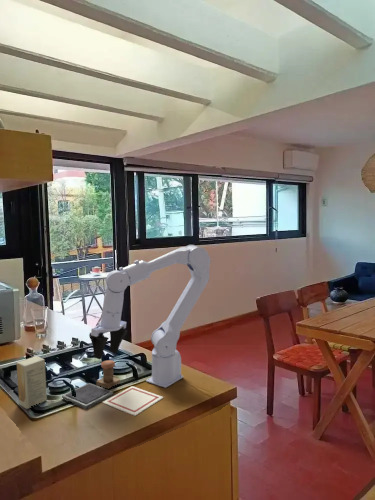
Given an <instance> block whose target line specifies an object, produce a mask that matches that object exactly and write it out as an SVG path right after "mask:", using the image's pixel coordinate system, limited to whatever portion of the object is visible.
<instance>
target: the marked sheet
mask: <svg viewBox="0 0 375 500" xmlns="http://www.w3.org/2000/svg"><path fill="white" fill-rule="evenodd" d="M162 399H164V396H162V395H158V394H156V393H153V392H150V391H147V390H145V389H142V388H139V387H136V386H130V387H128V388H126V389H124V390H123V391H120V392H119V393H117V394H115V395H112V396H110V397H109V398H107V399H105V400H103V401H102V404H103V405H106V406H109V407H112V408H114V409H117V410H119V411H121V412H123V413H126V414H129V415H130V416H131V415H132V416H134V417H136V416H137V415H139V414H140V413H142V412H144V411H145V410H147V409H148V408H150V407H151V406H153V405H154V404H156V403H158V402H159V401H161V400H162Z"/></svg>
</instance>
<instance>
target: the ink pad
mask: <svg viewBox="0 0 375 500" xmlns="http://www.w3.org/2000/svg"><path fill="white" fill-rule="evenodd" d="M74 390H76V397H74V396H72V394H71V391H69V392H67V393H65V394H63V395H62V396H61V399H62V398H63V399H66V400H69V401H71V402H72V403H74V404H73V405H75V406H77V407H80V408H81V409H84V410H87V409H90V408H91V407H94V406H96V405H97V404H99V403H101V402H104V401H105V400H107V399H109V398H111V397H113V396H114V391H112V390H110V389H109V390H108V389H105V388H103V387H100V386H98V385H97V384H94V383H90V382H88V383H86V384H84V385H82V386H80V387H78V388H76V389H74ZM63 399H62V400H63ZM72 403H71V404H72Z"/></svg>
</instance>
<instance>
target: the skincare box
mask: <svg viewBox="0 0 375 500" xmlns="http://www.w3.org/2000/svg"><path fill="white" fill-rule="evenodd" d="M16 372H17V374H16V376H17V391H18V404H19V405H20V406H21V407H22V408H24V409H25V410H28V409H30V408H32V407H31V406H33V405H35V406H37V405H39V403H40V404H42V403H44V402H47V400H48V398H47V397H48V395H47V381H46V379H47V378H46V377H47V376H46V362H45V359H44V358H42V357H40V356H39V355H35V356H32V357H29V358H26V359H22V360H20V361H17V362H16ZM36 404H37V405H36ZM33 407H34V406H33Z"/></svg>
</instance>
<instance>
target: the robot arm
mask: <svg viewBox="0 0 375 500" xmlns="http://www.w3.org/2000/svg"><path fill="white" fill-rule="evenodd" d="M211 262H212V260H211V257H210V254H209V252H208V251H207V249H206V248H203V247H200V246H197V245H195V244H188V245H186V246H181V247H178V248H177V249H174V250H172V251H169V252H168V253H165V254H163V255H161V256H158V257H156V258H154V259H152V260H149V261H145V260H138V259H136V260H134V261H133V263H132V264H130V265H127V266H125V267H123V266H121V267H119V268H118V270H116V269H115V270H112V271H110V272H109V273H108V274H107V275H106V277H105V283H106V288H105V292H104V293H105V294H104V297H103V304H102V309H101V311H102V312H101V318H100V321H98V322H97V325H96V326H94V327H92V328H91V332H89V335H88V336H89V337H88V338H89V339H90V341H91V344H92V351H93V358H94V359H98V360H101V359H102V358H103V355H104V350H105V346H106V345H107V342H108V340H109V338H110V342H109V351H110V353H114V354H117V353H118V351H119V348H120V345H121V344H122V341H123V339H124V338H125V337H126V335H127V334H128V330H127V329H126V328H127V321H125V320H124V321H123V320H122V314H123V313H122V312H123V307H124V306H123V305H124V298H125V297H124V296H125V295H124V294H125V290H126V289H127V287H128V286H132V285H135V284H138V283H140V282H142V281H145V280H147V279H149V278H150V276H151V275H152V273H153V272H156V271H159V270H161V269H164V268H167V267H169V266H172V265H175V264H179V265H186V266H187V267H188V271H189V273H190V276H191V278H190V279H189V280H188V283H187V285H186V286H185V288H184V289H183V291H182V292H181V294H180V296H179V297H178V300H177V301H176V303H175V304H174V305H173V308H172V310H171V312H170V313H169V315H168V317H167V318H166V320H164V321H163V322H162V323H161V324H160V326H159V327H158V328H157V329H155V330H153V332H152V334H151V336H150V341H151V343H152V344H153V345H154V346H153V349H152V351H151V377H148V378H147V379H146V380H145V381H146V382H147V383H150V384H152V385H156V386H158V387H162V388H168V387H170V386H171V385H172V384H174V383H176V382H178V381H180V380H181V379H183V378H184V375H182V357H181V353H180V352H179V351H178V350H177V343H178V341H179V339H180V336H181V333H180V332H181V329H182V327H183V325H184V324H185V322H186V320H187V319H188V318H189V315H190V314H191V312H192V310H193V309H194V307H195V305H196V303H197V302H198V301H199V298H200V297H201V295H202V293H203V292H204V289H206V286H207V284H208V282H209V281H210V265H211ZM107 333H109V334H110V335H109V337H107V336H105V335H104V334H107Z"/></svg>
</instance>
